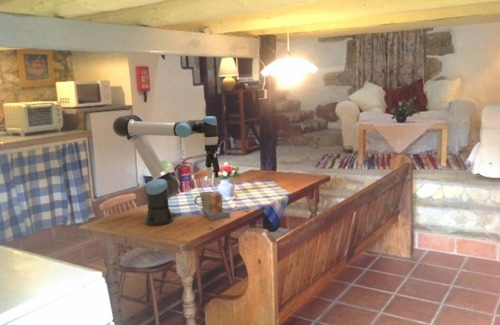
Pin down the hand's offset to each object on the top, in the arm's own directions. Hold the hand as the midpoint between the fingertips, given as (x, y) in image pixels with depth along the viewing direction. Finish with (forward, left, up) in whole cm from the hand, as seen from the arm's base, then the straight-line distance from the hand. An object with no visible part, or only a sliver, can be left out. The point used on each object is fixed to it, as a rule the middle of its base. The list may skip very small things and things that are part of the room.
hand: (213, 180), depth 271 cm
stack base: (+1, -1, -21) cm, 21 cm away
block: (+1, -1, -18) cm, 18 cm away
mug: (-1, +18, -21) cm, 28 cm away
